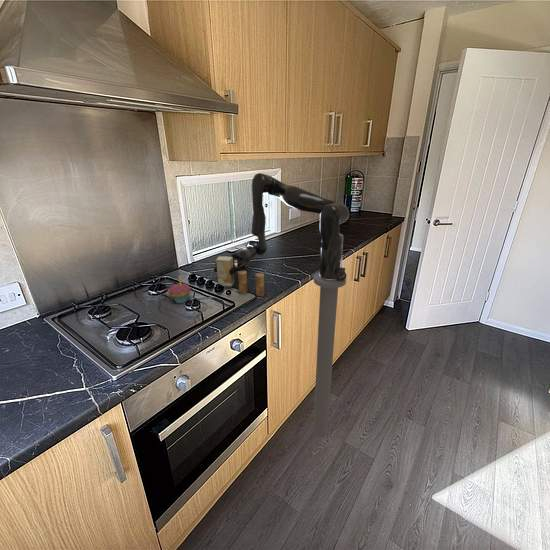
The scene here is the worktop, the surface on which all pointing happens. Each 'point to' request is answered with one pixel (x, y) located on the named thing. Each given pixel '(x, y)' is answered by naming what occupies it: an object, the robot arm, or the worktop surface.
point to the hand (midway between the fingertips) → (222, 271)
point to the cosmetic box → (224, 270)
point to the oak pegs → (258, 278)
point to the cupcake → (179, 292)
